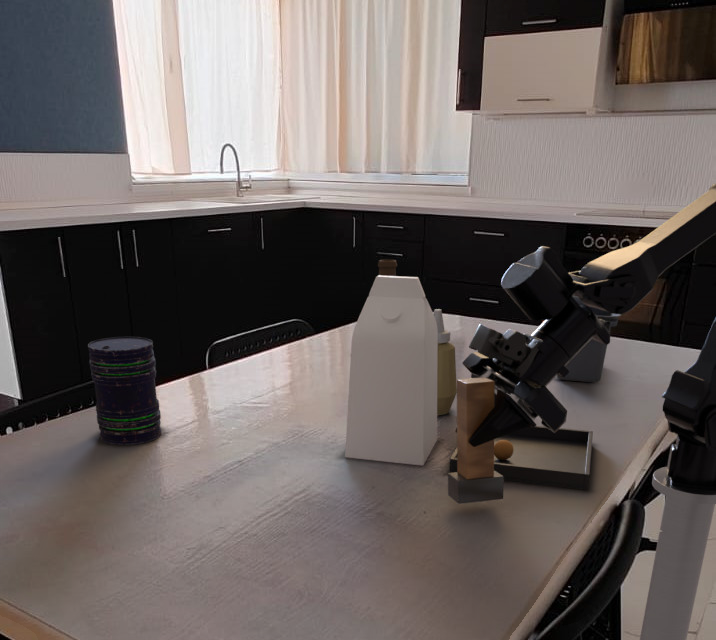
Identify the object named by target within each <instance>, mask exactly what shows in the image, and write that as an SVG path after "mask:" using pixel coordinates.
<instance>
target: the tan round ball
mask: <svg viewBox="0 0 716 640" xmlns="http://www.w3.org/2000/svg"><path fill="white" fill-rule="evenodd" d="M512 454H513V445H512V444H511V443H510V442H509V441H507V440H500V441H498V442H496V443H495V445H494V455H495V457H496V458H498V459H500V460H507V459H509V458H510V457H511V456H512Z"/></svg>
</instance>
